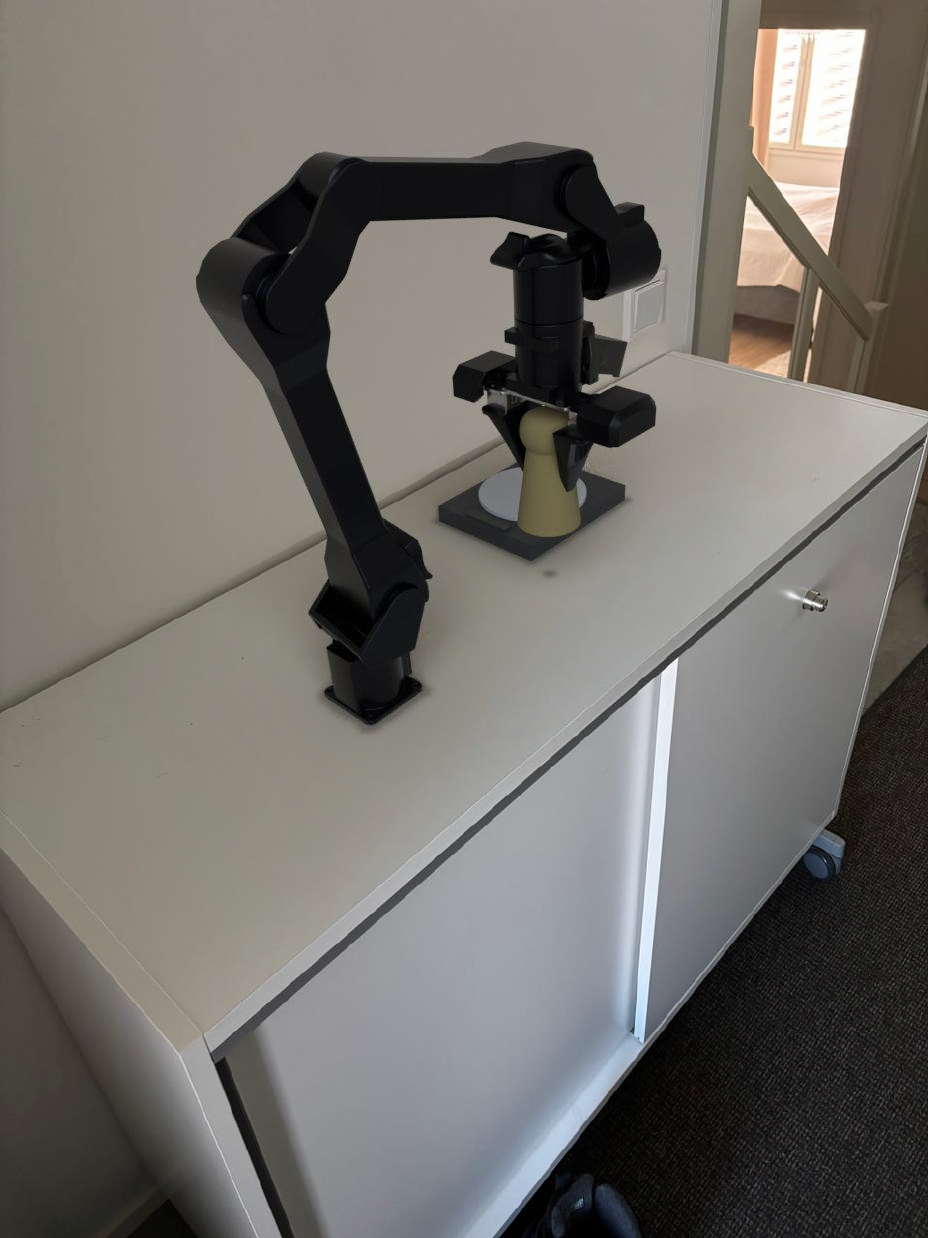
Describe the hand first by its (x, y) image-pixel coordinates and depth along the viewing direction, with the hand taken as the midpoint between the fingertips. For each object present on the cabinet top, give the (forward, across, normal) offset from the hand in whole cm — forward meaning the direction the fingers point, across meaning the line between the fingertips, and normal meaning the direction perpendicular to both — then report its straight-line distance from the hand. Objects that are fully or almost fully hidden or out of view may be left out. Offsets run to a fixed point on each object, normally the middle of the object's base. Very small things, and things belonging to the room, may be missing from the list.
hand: (549, 483), depth 85 cm
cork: (+4, 0, 0) cm, 4 cm away
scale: (+13, +13, -13) cm, 23 cm away
